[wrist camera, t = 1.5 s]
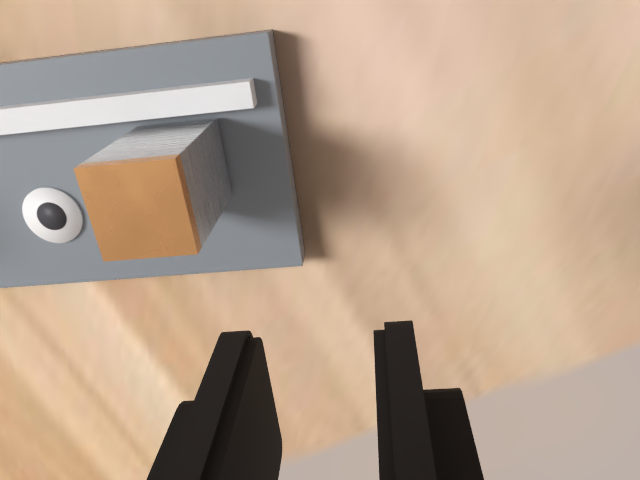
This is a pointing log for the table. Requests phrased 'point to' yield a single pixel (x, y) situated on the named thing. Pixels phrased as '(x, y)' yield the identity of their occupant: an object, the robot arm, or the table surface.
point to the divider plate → (118, 119)
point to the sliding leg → (156, 190)
